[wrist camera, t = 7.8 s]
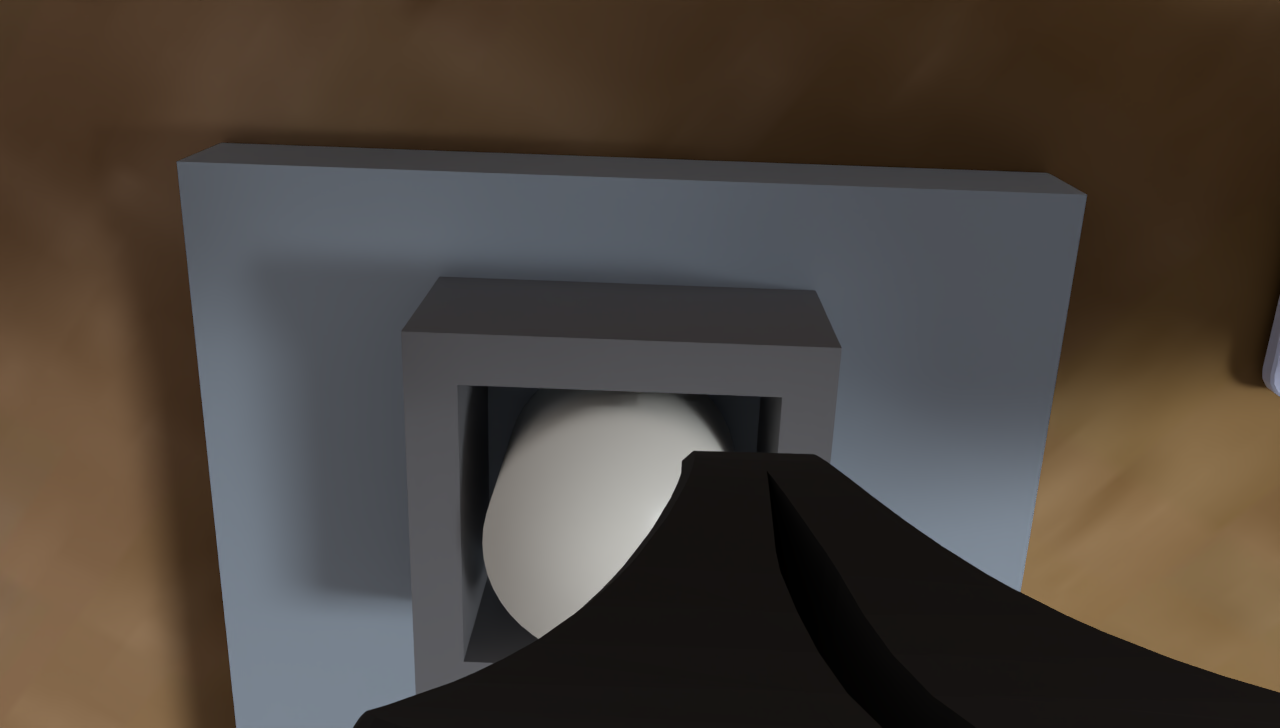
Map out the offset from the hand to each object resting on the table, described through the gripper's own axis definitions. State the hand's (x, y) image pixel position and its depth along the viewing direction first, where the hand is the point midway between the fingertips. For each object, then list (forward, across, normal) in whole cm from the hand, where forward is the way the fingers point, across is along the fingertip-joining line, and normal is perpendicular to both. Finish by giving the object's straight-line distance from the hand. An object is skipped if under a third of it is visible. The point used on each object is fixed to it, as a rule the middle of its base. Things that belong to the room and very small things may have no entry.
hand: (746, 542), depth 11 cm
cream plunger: (+8, +1, +3) cm, 9 cm away
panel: (+10, +1, +8) cm, 13 cm away
